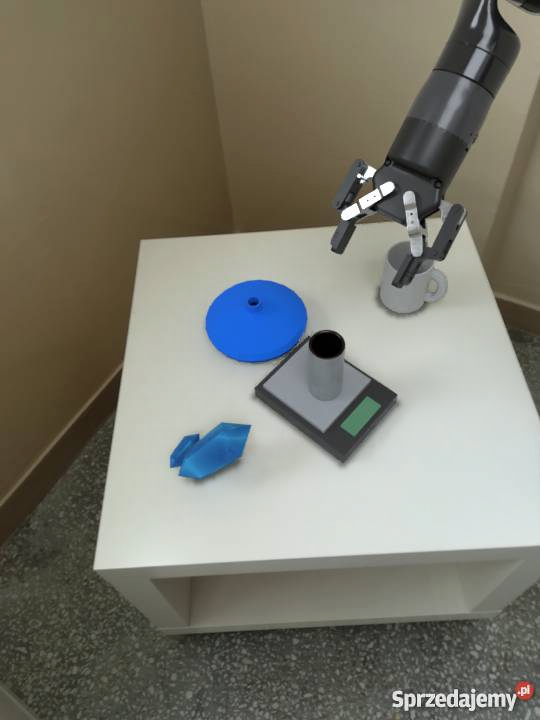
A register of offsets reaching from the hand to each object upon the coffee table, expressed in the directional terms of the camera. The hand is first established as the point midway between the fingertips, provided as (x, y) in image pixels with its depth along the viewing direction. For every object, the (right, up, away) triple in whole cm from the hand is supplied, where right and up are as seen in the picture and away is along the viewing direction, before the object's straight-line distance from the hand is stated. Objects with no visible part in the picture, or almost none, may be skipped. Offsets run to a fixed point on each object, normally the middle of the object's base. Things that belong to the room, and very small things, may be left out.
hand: (365, 269), depth 61 cm
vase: (-13, -6, +23) cm, 27 cm away
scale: (-3, -16, +15) cm, 22 cm away
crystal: (-18, -24, +11) cm, 32 cm away
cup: (+12, -1, +24) cm, 27 cm away
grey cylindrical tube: (-3, -14, +13) cm, 19 cm away
